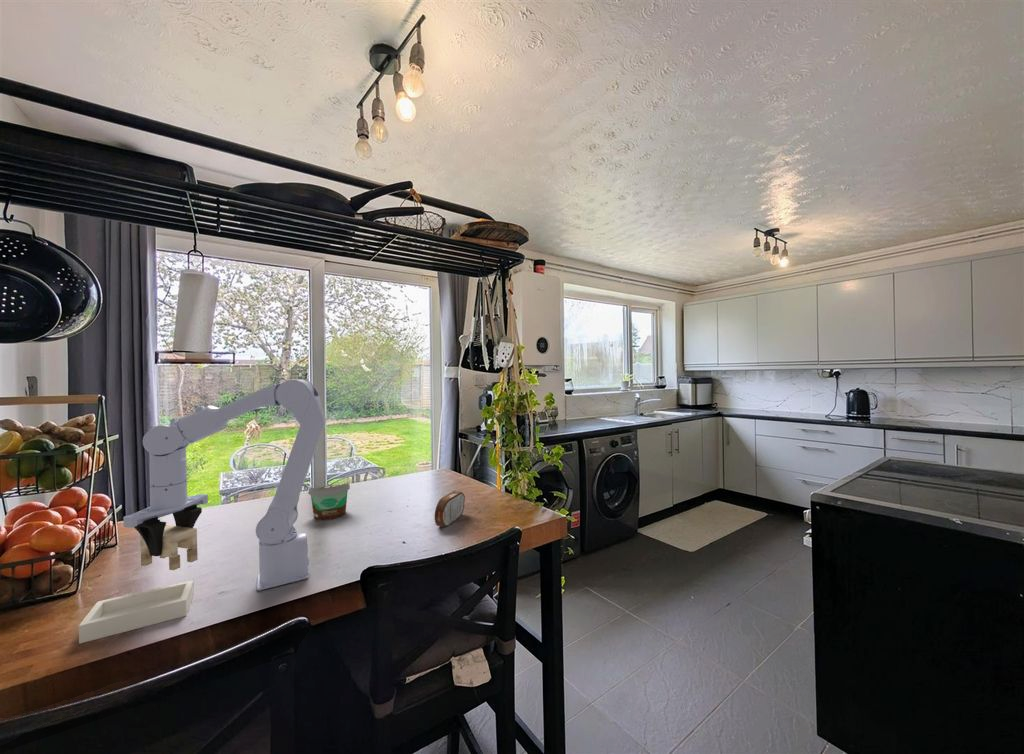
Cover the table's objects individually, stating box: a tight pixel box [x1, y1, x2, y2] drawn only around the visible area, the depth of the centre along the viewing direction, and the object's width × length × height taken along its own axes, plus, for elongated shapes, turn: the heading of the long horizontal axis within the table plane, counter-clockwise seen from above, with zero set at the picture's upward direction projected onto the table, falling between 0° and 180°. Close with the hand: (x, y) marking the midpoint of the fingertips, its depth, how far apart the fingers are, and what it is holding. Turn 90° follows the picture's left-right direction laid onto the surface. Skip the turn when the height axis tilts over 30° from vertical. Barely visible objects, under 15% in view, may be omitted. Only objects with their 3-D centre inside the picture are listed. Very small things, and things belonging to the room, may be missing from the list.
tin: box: [434, 490, 466, 528], centre depth 118 cm, size 15×3×8 cm, turn 161°
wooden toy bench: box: [139, 524, 199, 571], centre depth 80 cm, size 9×4×6 cm, turn 75°
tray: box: [78, 579, 195, 644], centre depth 73 cm, size 14×8×3 cm, turn 122°
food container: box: [307, 480, 351, 521], centre depth 124 cm, size 12×6×10 cm, turn 126°
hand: (170, 549), depth 80 cm, fingers closed on wooden toy bench, 5 cm apart
